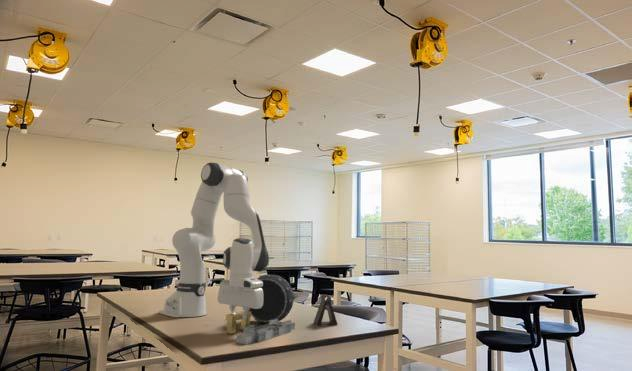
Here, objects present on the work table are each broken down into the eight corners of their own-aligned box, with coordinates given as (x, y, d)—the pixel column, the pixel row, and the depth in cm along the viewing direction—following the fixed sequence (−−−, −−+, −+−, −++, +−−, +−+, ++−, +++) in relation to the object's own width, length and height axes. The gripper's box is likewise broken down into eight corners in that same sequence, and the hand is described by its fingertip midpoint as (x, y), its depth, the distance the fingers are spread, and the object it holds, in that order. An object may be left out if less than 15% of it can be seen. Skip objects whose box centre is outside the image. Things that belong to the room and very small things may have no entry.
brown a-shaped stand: (316, 325, 175) (317, 296, 176) (313, 322, 181) (314, 294, 182) (337, 325, 177) (338, 295, 178) (333, 322, 183) (334, 293, 184)
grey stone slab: (249, 345, 141) (249, 332, 142) (233, 342, 145) (233, 329, 145) (297, 329, 167) (298, 318, 168) (283, 327, 171) (283, 316, 171)
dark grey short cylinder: (288, 327, 171) (290, 276, 173) (241, 323, 175) (243, 274, 177) (295, 322, 181) (296, 274, 183) (250, 319, 185) (252, 272, 188)
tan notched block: (231, 333, 155) (232, 315, 156) (225, 332, 156) (226, 314, 157) (250, 328, 164) (251, 311, 165) (244, 327, 166) (245, 310, 167)
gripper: (215, 279, 165) (212, 315, 164) (256, 284, 155) (254, 323, 153) (226, 278, 171) (224, 313, 169) (266, 282, 160) (264, 320, 158)
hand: (238, 318), depth 161 cm, fingers closed on tan notched block, 3 cm apart
